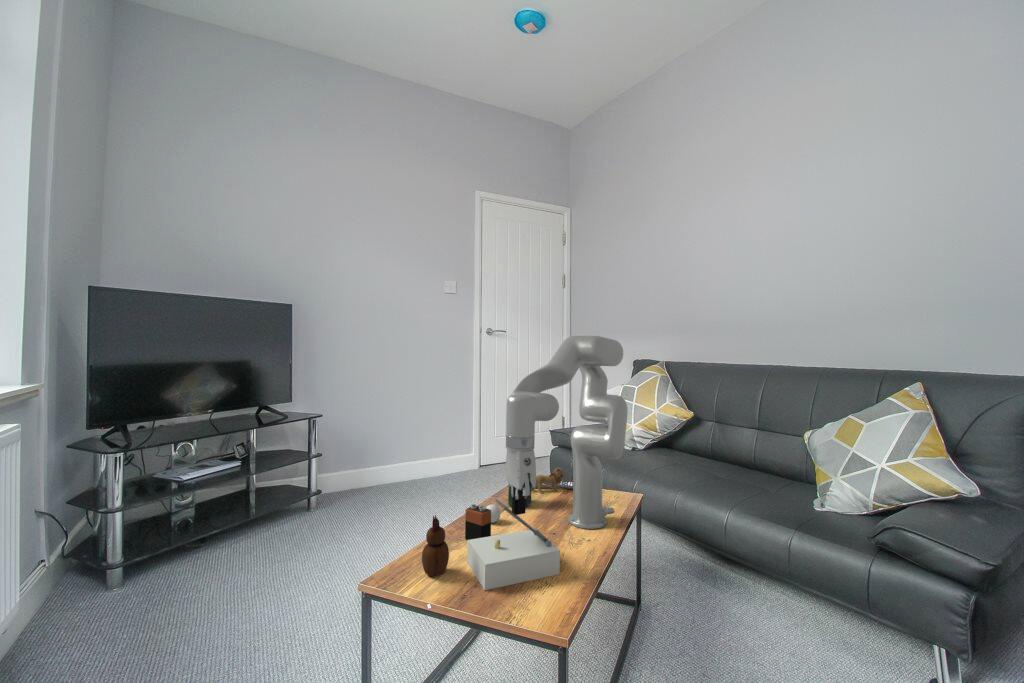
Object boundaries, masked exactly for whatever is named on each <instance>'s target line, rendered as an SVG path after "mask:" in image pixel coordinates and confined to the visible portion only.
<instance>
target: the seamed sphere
mask: <svg viewBox="0 0 1024 683" xmlns="http://www.w3.org/2000/svg"><path fill="white" fill-rule="evenodd" d="M485 507H486V509H490V510H491V524H494V523H496V522H498V521H499V520H500V518H501V509H500V507H499V506H498V505H496V504H493V503H492V504H488V505H487V506H485Z"/></svg>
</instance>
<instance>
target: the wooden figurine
mask: <svg viewBox="0 0 1024 683" xmlns="http://www.w3.org/2000/svg"><path fill="white" fill-rule="evenodd" d="M431 526H432V527H429V529H428V530H427V531H426V535H425V536H426V537H425V538H426V545H425V546H424V547H423V549H422V552H421V563H422V569H423V571H424V573H425V574H426V575H427V576H429V577H433V578H434V577H438V576H441V575H442V574H443V573H445V571H446V568H447V566H448V563H449V559H450V551H449V546H448V543H447V542H446V541H445V540H446V530H445V529H444V527H443V526H440V520H439V519H438V517H437V515H432V525H431Z"/></svg>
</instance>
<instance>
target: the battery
mask: <svg viewBox="0 0 1024 683" xmlns="http://www.w3.org/2000/svg"><path fill="white" fill-rule="evenodd" d="M486 507H487V506H483V505H480V506H479V505H477V504H471V506H470V507H468V508H466V509H465V519H464V520H465V521H464V522H465V523H464V525H465V528H464V529H465V532H464V538H465V540H467V541H468V540H471V539H477V538H483V537H489V536H492V523H491V510H490V509H486Z"/></svg>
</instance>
